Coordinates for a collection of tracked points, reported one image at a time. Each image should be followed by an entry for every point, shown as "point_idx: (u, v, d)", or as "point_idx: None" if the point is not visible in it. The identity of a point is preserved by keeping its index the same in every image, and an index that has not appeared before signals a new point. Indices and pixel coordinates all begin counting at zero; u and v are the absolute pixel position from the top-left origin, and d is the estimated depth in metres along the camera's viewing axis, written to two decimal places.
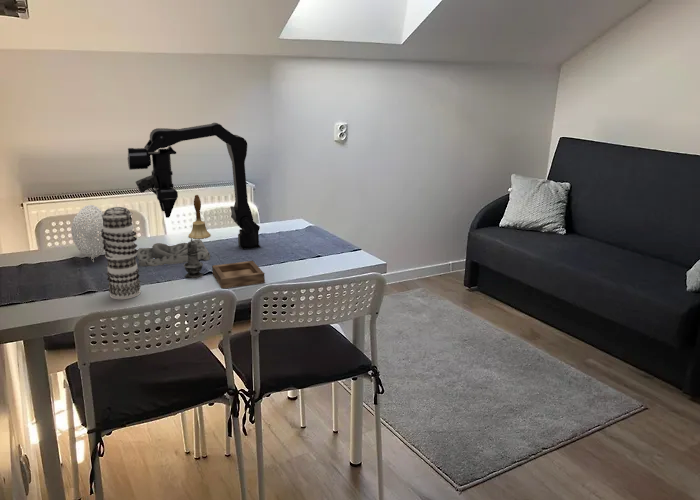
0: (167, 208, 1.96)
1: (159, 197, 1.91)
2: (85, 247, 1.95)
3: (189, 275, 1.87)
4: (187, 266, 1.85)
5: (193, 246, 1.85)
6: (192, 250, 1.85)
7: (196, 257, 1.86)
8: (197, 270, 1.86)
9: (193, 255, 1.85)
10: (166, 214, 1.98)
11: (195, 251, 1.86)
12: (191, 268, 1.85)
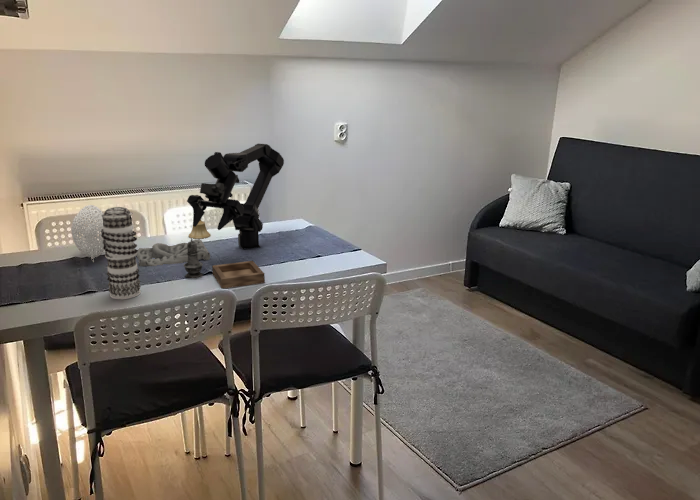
0: (225, 220, 1.91)
1: (236, 205, 1.90)
2: (85, 247, 1.95)
3: (189, 275, 1.87)
4: (187, 266, 1.85)
5: (193, 246, 1.85)
6: (192, 250, 1.85)
7: (196, 257, 1.86)
8: (197, 270, 1.86)
9: (193, 255, 1.85)
10: (220, 225, 1.90)
11: (195, 251, 1.86)
12: (191, 268, 1.85)
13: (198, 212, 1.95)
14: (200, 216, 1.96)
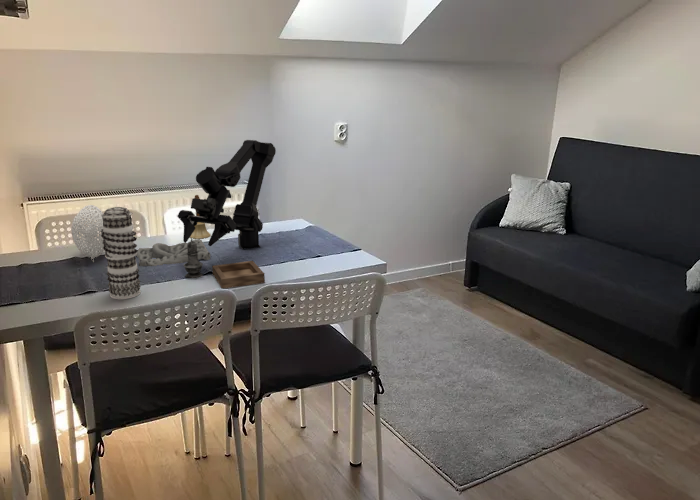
0: (216, 236, 1.87)
1: (227, 221, 1.86)
2: (85, 247, 1.95)
3: (189, 275, 1.87)
4: (187, 266, 1.85)
5: (193, 246, 1.85)
6: (192, 250, 1.85)
7: (196, 257, 1.86)
8: (197, 270, 1.86)
9: (193, 255, 1.85)
10: (211, 241, 1.86)
11: (195, 251, 1.86)
12: (191, 268, 1.85)
13: (189, 228, 1.91)
14: (190, 232, 1.92)
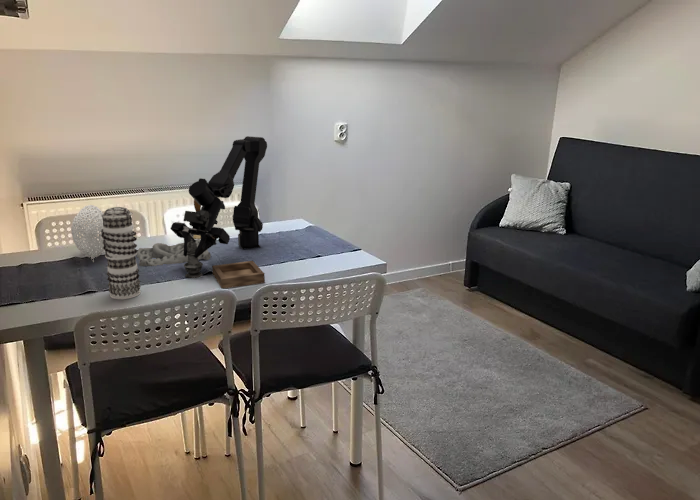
0: (202, 248, 1.86)
1: (220, 233, 1.83)
2: (85, 247, 1.95)
3: (189, 275, 1.87)
4: (187, 266, 1.85)
5: (193, 246, 1.85)
6: (192, 250, 1.85)
7: None
8: (197, 270, 1.86)
9: (193, 255, 1.85)
10: (197, 253, 1.85)
11: (195, 251, 1.86)
12: (191, 268, 1.85)
13: (189, 241, 1.88)
14: None
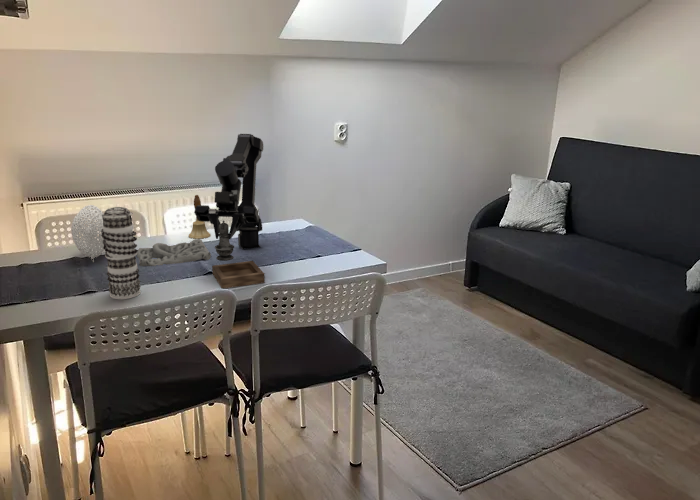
0: (234, 229, 1.83)
1: (255, 212, 1.82)
2: (85, 247, 1.95)
3: (221, 258, 1.83)
4: (221, 248, 1.81)
5: (226, 228, 1.81)
6: (225, 232, 1.81)
7: (228, 239, 1.83)
8: (231, 252, 1.83)
9: (227, 236, 1.81)
10: (231, 234, 1.81)
11: (228, 232, 1.82)
12: (226, 250, 1.81)
13: (217, 223, 1.83)
14: (218, 228, 1.84)
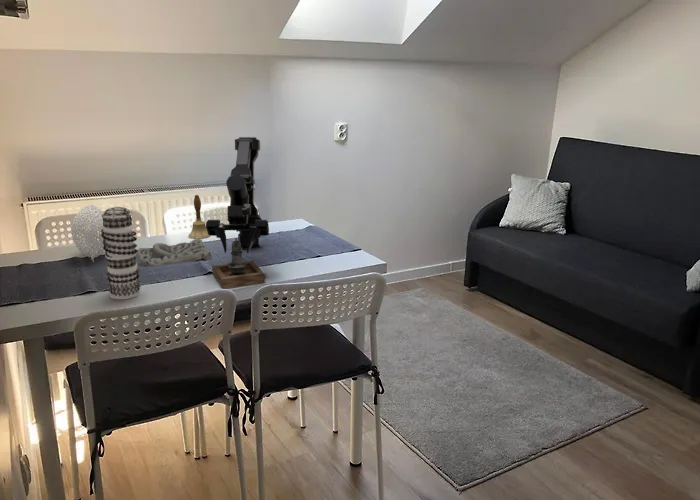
0: (251, 242, 1.84)
1: (267, 225, 1.84)
2: (85, 247, 1.95)
3: (235, 275, 1.85)
4: (235, 266, 1.83)
5: (239, 246, 1.83)
6: (238, 250, 1.83)
7: (241, 256, 1.84)
8: (244, 269, 1.85)
9: (240, 254, 1.83)
10: (248, 248, 1.83)
11: (240, 250, 1.84)
12: (240, 268, 1.83)
13: (225, 237, 1.84)
14: None
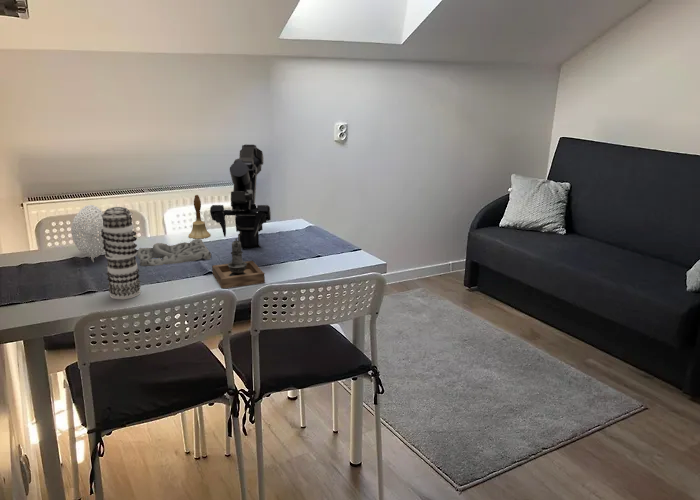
0: (258, 226, 1.92)
1: (268, 210, 1.92)
2: (85, 247, 1.95)
3: (235, 275, 1.85)
4: (235, 266, 1.83)
5: (239, 246, 1.83)
6: (239, 250, 1.83)
7: (241, 256, 1.84)
8: (244, 269, 1.85)
9: (240, 254, 1.83)
10: (255, 232, 1.91)
11: None
12: (240, 268, 1.83)
13: (224, 222, 1.92)
14: (225, 226, 1.93)
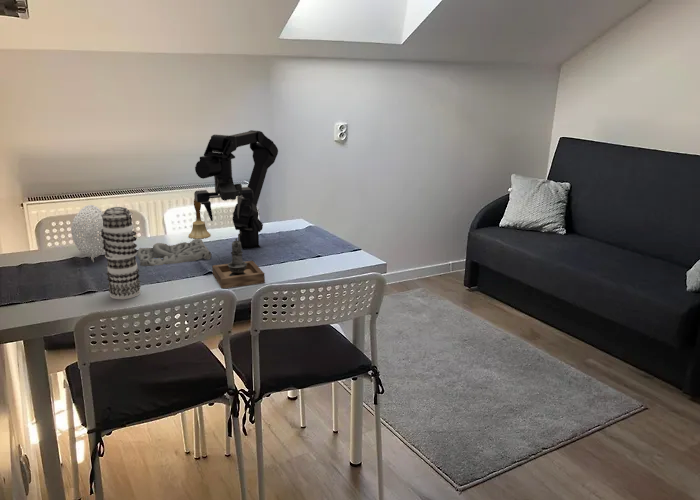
0: None
1: (253, 196, 2.02)
2: (85, 247, 1.95)
3: (235, 275, 1.85)
4: (235, 266, 1.83)
5: (240, 246, 1.83)
6: (239, 250, 1.83)
7: (241, 256, 1.84)
8: (244, 269, 1.85)
9: (240, 254, 1.83)
10: None
11: None
12: (240, 268, 1.83)
13: None
14: None
